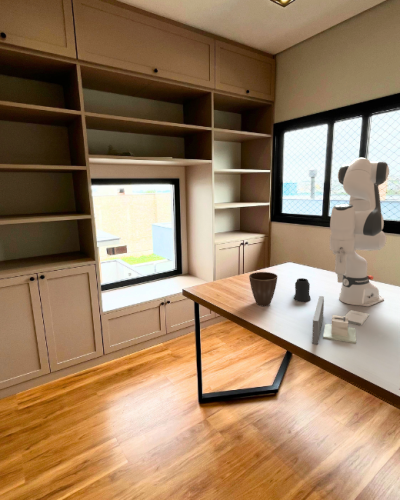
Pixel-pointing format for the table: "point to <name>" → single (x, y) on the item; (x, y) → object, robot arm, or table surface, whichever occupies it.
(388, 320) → the table surface
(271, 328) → the table surface
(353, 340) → the pad
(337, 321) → the letter cube
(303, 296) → the mug
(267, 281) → the plant pot
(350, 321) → the external hard drive
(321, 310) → the screen
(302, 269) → the table surface
